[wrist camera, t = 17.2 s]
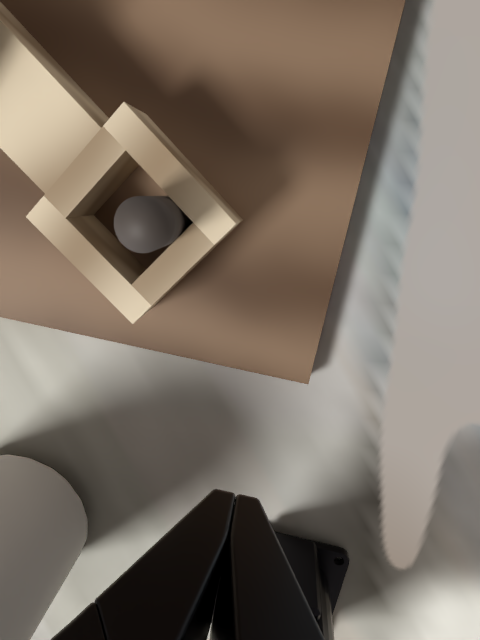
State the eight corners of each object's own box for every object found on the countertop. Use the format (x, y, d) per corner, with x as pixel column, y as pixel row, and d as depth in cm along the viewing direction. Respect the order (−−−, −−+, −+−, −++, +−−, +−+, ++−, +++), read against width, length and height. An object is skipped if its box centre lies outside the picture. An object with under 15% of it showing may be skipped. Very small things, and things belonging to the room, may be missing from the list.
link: (243, 220, 19) (236, 224, 16) (151, 308, 20) (132, 324, 18) (-73, -125, 16) (-135, -179, 14) (-149, 2, 18) (-217, -28, 16)
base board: (307, 375, 21) (312, 436, 16) (-209, 263, 22) (-362, 284, 17) (469, -272, 15) (571, -534, 9) (-271, -375, 16) (-548, -655, 11)
